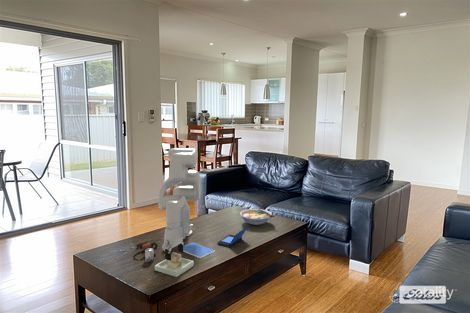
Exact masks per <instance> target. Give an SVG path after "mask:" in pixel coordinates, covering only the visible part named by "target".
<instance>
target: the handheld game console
mask: <svg viewBox="0 0 470 313" xmlns="http://www.w3.org/2000/svg"><path fill="white" fill-rule="evenodd" d="M247 229H248V226H246V227H244V228H243V229H241V230H240V231H239V232H237V233H236V234H235V235H234V234H228V235H226V236H225V237H223V238H222V239H220V240H219V241H218V242H217V245H219V246H223V247H225V248H226V247H227V248H231V247H232V246H234V245H235V244H236V243H238V242H239V241H241V240H243V235H244V234H245V233H246V230H247Z"/></svg>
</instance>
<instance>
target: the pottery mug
mask: <svg viewBox="0 0 470 313" xmlns="http://www.w3.org/2000/svg"><path fill="white" fill-rule="evenodd" d="M158 245H159V244H158V243H157V242H156V241H155V242H150V241H149V240H145V241H142V242H140V243H138V244H136V245H135V246H136V248H135V251H137V250H143V251H144V252H143V253H142V256H143V258H145V250H146V249H148V248H153V249H154V251H155V250H157V249H158V247H159V246H158Z"/></svg>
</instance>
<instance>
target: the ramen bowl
mask: <svg viewBox="0 0 470 313" xmlns="http://www.w3.org/2000/svg"><path fill="white" fill-rule="evenodd" d="M239 215H240V216H241V218H242V219H243V221H244V222H246V223H248V224H250V225H252V226H260V225H263V224H265V223H267V222H268V221H269V220H270V219H271V218H275V216H274V215H273V213H272V212H271V211H269V210H266V209H262V208H261V209H260V208H258V207H255V208H249V209H248V208H247V209H243V210H242V211H240V213H239Z"/></svg>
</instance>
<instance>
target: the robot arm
mask: <svg viewBox="0 0 470 313" xmlns="http://www.w3.org/2000/svg"><path fill="white" fill-rule="evenodd" d="M167 156H168V159H169V169H168V178H167V179H166V180H165V181H164V182H163V183H162V185H161V186H160V188H159V192H158V199H157V200H158V201H157V202H158V203H157V206H158V208H159V209H160V210H162V211H165V224H166V225H165V226H166V228H165V230H164V235H163V244H162V246H161V249H162V251H163V252H164V254H165V259H166V260H171V253H172V252H171V251H172V249H173V248H176V247H177V253H178V252H179V253H180V254H183V253H184V252H183V246H184V244H185V239H186V237H189V236H191V235H192V234H193V230H192V228H193V227H194V224H193V223H191V221H190V218H191V216H190V206H189V204H188V202H197V201H199V200H201V199H200V198H201V193H202V192H201V175H200V172H199V171H198V170H189V168H190V169H193V168H195V167H196V165H197V161H198V151H197V149H196V148H192V147H191V148H188V147H187V148H186V147H185V148H183V147H182V148H181V147H175V148H174V147H173V148H170V149H168V151H167ZM174 186H175V187H174ZM172 187H174V188H173V192H172V194H171V195H166V192H167V191H168V190H169V189H170V188H172ZM168 248H169V250H167V249H168ZM165 259H164V260H165Z"/></svg>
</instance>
